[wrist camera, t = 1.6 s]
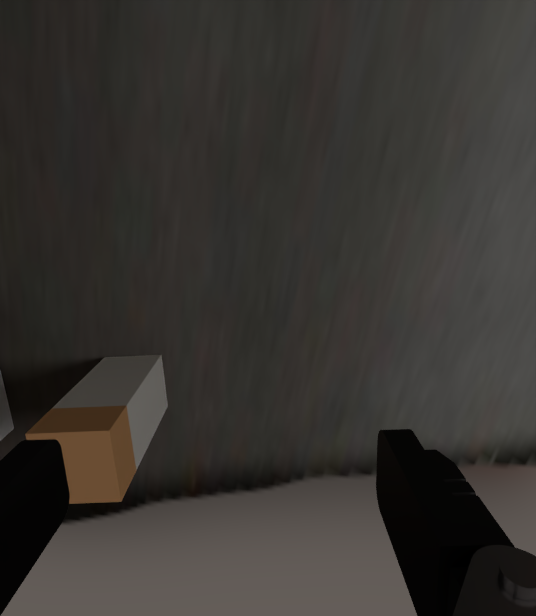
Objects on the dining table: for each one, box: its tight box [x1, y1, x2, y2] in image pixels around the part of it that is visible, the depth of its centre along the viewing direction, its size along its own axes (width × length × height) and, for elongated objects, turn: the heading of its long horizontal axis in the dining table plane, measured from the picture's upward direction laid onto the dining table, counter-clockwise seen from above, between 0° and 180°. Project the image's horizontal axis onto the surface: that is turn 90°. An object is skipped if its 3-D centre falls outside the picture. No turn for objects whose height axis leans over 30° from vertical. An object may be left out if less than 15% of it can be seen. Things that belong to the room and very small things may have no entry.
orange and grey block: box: [25, 355, 168, 504], centre depth 30 cm, size 5×5×12 cm
